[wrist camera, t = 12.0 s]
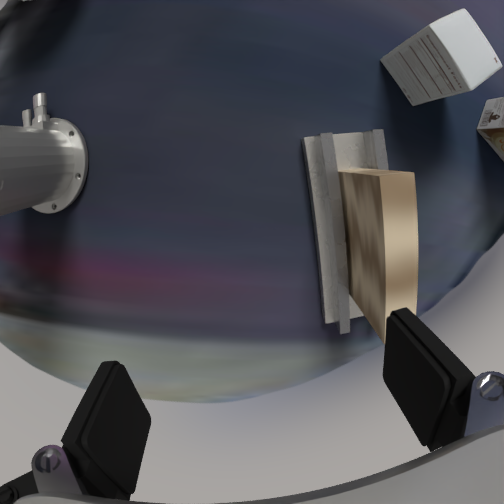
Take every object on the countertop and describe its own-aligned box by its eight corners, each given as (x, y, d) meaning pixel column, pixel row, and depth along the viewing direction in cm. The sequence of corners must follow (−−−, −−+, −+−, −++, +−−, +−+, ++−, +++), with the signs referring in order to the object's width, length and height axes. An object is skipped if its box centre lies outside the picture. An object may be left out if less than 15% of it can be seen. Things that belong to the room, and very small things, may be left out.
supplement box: (413, 39, 28) (466, 6, 16) (444, 85, 30) (505, 68, 17) (377, 59, 29) (427, 22, 17) (411, 108, 31) (473, 92, 19)
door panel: (334, 171, 31) (379, 175, 20) (360, 168, 31) (414, 172, 20) (346, 290, 35) (384, 344, 24) (369, 285, 35) (413, 335, 23)
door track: (301, 139, 32) (309, 134, 27) (374, 132, 32) (392, 128, 27) (322, 316, 38) (331, 336, 33) (385, 302, 38) (400, 320, 33)
